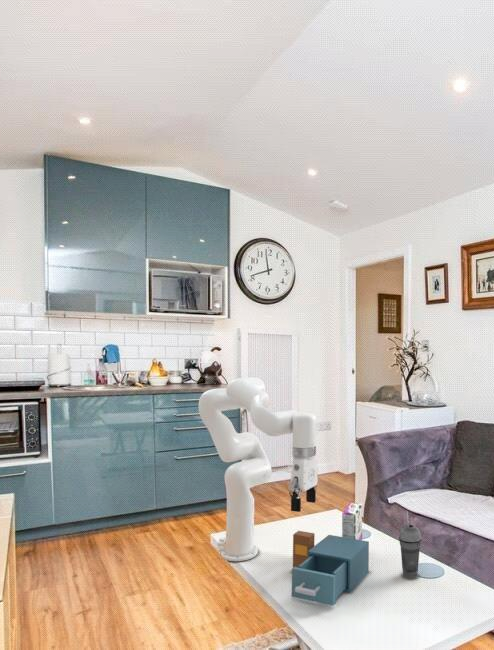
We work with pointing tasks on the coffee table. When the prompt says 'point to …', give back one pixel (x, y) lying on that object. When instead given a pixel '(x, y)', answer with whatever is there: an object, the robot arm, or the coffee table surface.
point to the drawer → (320, 579)
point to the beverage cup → (410, 550)
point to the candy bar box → (352, 521)
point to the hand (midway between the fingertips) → (303, 506)
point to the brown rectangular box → (301, 546)
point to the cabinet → (345, 556)
